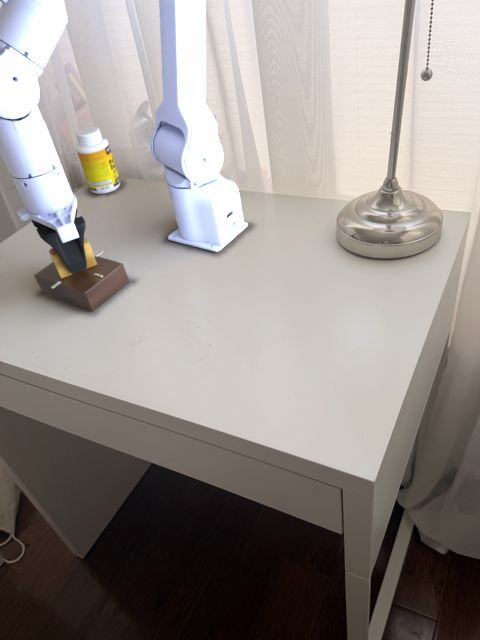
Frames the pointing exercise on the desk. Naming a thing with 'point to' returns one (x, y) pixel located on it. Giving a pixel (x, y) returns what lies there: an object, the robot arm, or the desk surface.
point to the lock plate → (84, 283)
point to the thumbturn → (62, 268)
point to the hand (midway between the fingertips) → (76, 266)
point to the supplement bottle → (97, 161)
